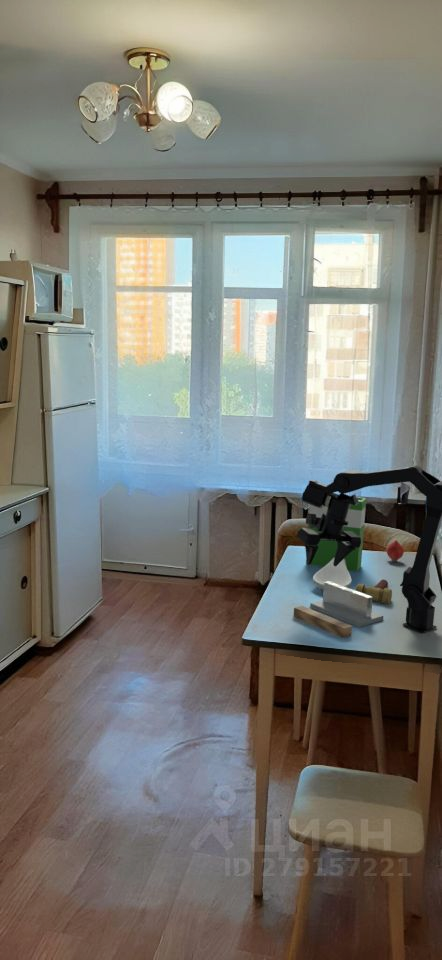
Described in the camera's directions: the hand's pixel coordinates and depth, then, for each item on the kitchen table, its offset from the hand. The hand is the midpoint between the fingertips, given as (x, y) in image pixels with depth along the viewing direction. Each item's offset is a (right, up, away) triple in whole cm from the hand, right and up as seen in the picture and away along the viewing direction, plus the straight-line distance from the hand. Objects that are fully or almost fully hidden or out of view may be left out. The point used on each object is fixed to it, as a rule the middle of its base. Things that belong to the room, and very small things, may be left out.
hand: (321, 565), depth 201 cm
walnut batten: (-2, -15, -13) cm, 20 cm away
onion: (+33, -5, +52) cm, 62 cm away
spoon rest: (+7, -9, +23) cm, 26 cm away
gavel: (+20, -11, +17) cm, 28 cm away
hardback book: (+10, -6, +44) cm, 46 cm away
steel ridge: (+6, -12, -3) cm, 14 cm away
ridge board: (+6, -13, -3) cm, 15 cm away
